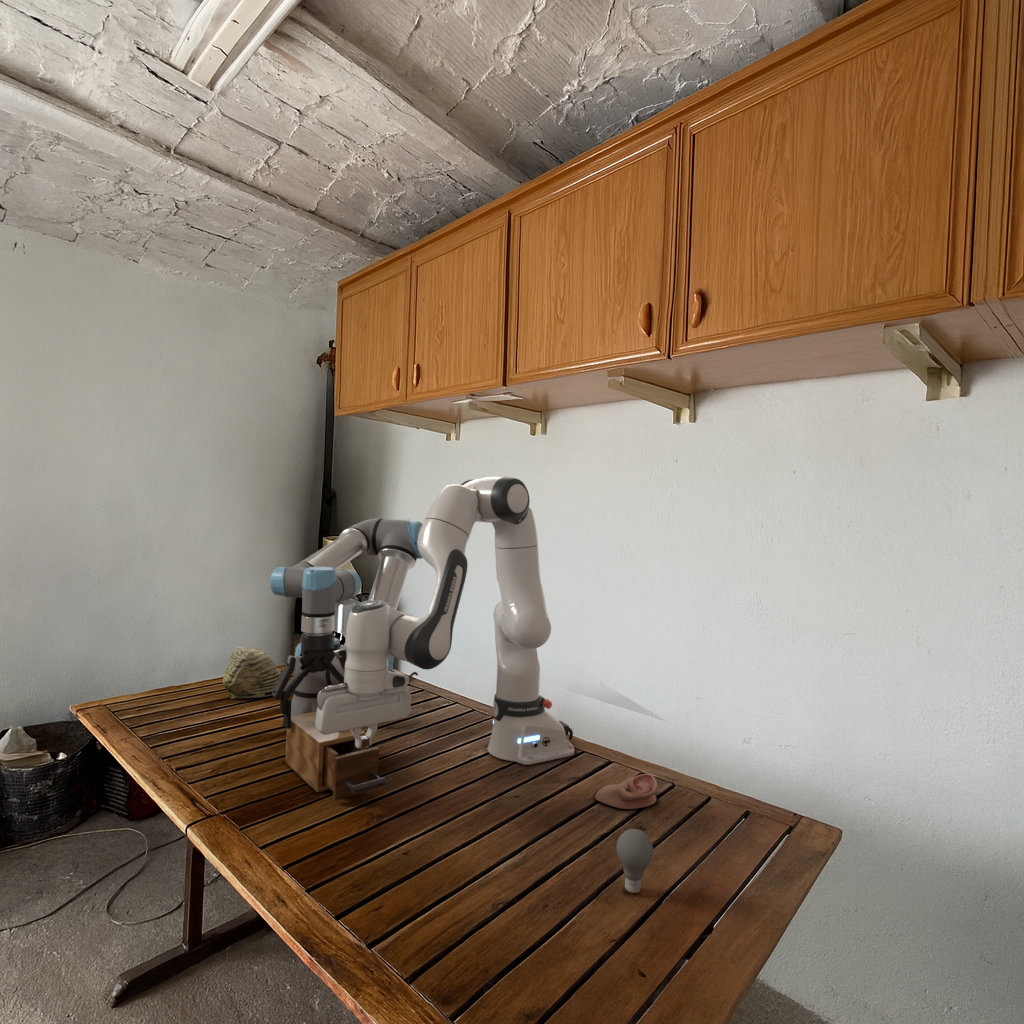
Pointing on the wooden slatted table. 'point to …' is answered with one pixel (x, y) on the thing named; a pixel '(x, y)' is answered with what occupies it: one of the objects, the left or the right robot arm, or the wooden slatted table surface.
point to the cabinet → (310, 748)
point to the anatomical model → (630, 793)
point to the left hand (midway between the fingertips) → (315, 720)
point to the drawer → (350, 769)
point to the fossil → (250, 674)
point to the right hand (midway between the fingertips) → (363, 746)
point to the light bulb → (634, 857)
